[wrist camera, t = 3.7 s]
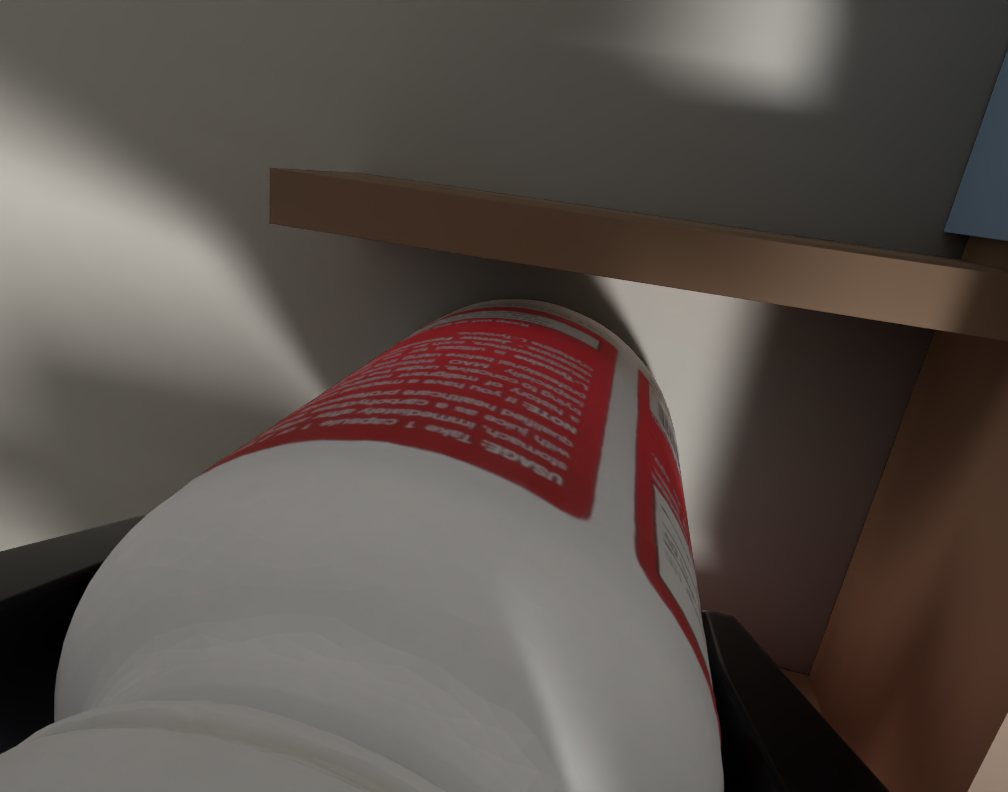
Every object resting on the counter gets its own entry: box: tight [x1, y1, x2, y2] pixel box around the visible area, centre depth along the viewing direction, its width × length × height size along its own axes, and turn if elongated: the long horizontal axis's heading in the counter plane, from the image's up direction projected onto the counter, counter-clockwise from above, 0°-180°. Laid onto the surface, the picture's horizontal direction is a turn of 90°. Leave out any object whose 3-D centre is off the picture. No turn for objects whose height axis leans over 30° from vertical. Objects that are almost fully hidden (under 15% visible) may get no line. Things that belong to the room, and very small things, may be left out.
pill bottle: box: [0, 299, 724, 792], centre depth 8 cm, size 6×6×11 cm
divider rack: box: [270, 50, 1008, 792], centre depth 9 cm, size 18×12×6 cm, turn 172°
